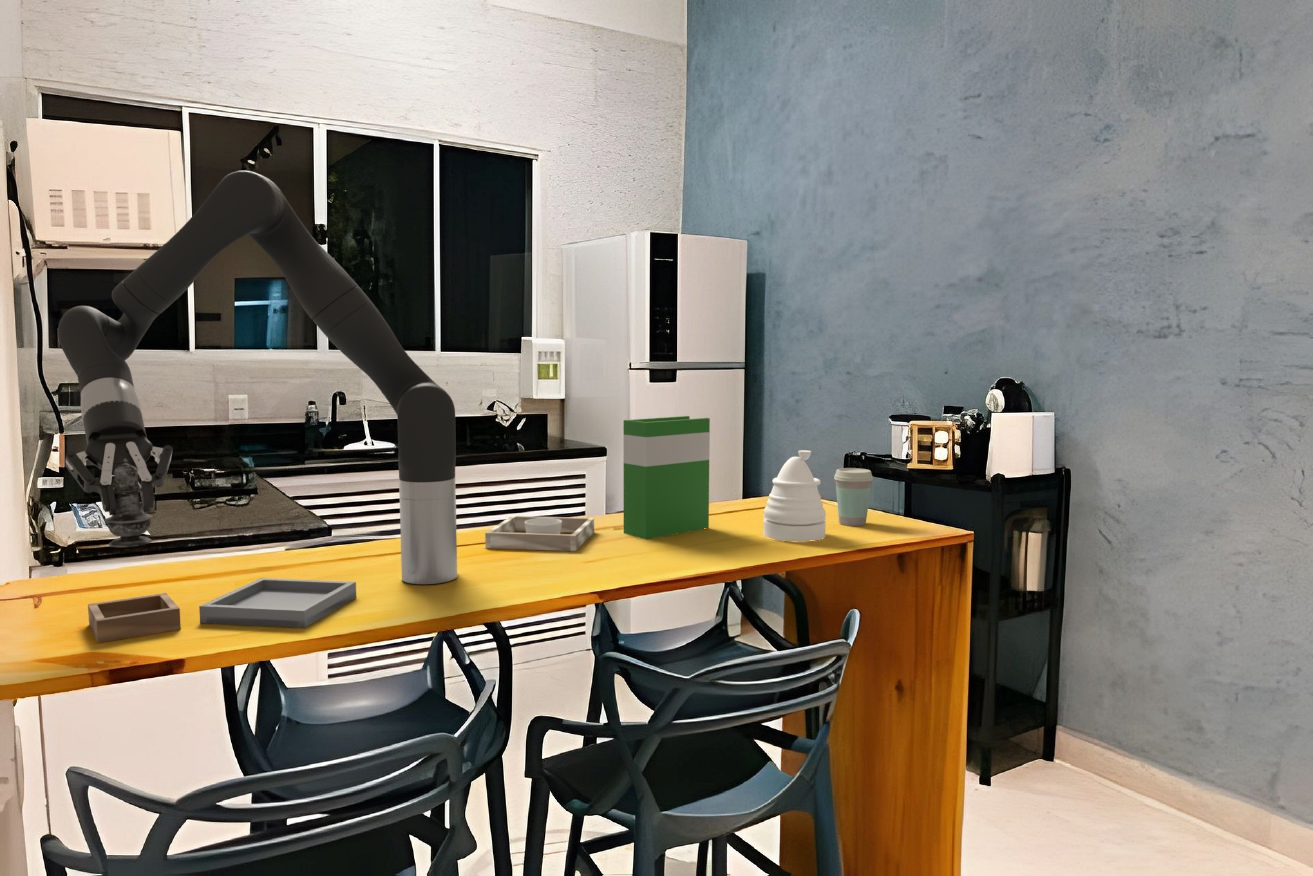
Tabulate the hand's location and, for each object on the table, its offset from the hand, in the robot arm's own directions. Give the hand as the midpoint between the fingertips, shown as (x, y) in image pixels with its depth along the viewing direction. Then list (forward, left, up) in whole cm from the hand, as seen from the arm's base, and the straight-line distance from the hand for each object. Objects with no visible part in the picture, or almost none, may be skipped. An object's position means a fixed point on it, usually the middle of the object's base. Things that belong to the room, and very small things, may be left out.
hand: (130, 509), depth 129 cm
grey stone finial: (-1, -1, -5) cm, 6 cm away
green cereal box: (-79, +65, -17) cm, 104 cm away
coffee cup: (-93, +105, -17) cm, 141 cm away
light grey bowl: (-63, +42, -18) cm, 78 cm away
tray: (-12, +15, -17) cm, 26 cm away
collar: (-1, -1, -17) cm, 17 cm away
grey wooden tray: (-66, +41, -17) cm, 80 cm away
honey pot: (-78, +92, -17) cm, 122 cm away
